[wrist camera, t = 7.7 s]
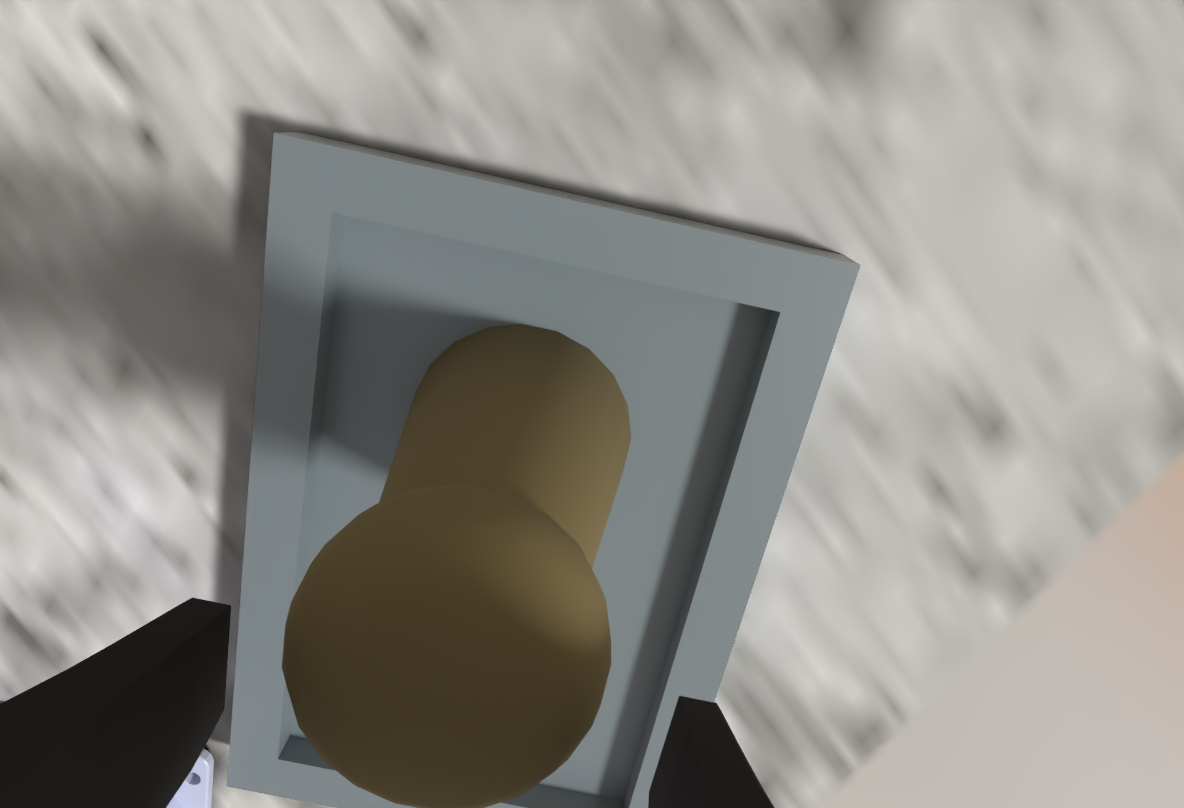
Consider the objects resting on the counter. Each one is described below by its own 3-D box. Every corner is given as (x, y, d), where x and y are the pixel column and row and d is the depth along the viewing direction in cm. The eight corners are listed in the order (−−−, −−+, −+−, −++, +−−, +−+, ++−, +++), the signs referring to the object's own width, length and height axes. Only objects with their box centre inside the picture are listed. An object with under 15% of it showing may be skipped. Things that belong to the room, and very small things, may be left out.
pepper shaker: (368, 445, 22) (140, 740, 12) (496, 276, 20) (364, 445, 10) (541, 567, 23) (475, 935, 13) (677, 417, 21) (729, 701, 11)
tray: (655, 830, 27) (657, 869, 26) (247, 750, 26) (226, 786, 25) (843, 254, 20) (860, 265, 19) (298, 131, 20) (273, 133, 18)
